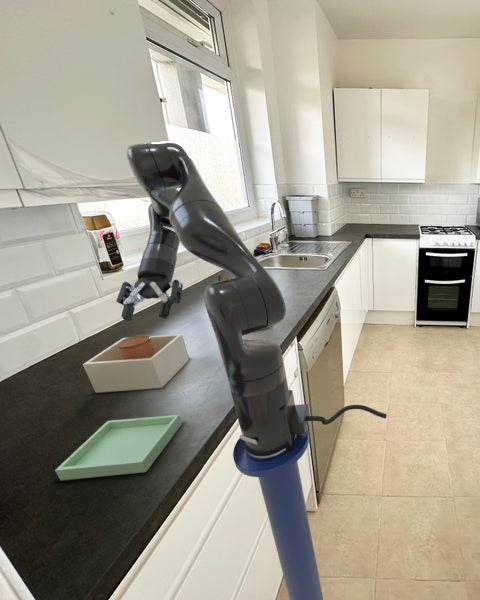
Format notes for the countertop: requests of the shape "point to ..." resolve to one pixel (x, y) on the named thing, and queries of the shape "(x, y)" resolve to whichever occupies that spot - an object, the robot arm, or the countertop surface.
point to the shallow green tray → (120, 448)
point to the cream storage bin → (137, 366)
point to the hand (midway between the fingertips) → (144, 318)
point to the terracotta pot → (136, 347)
